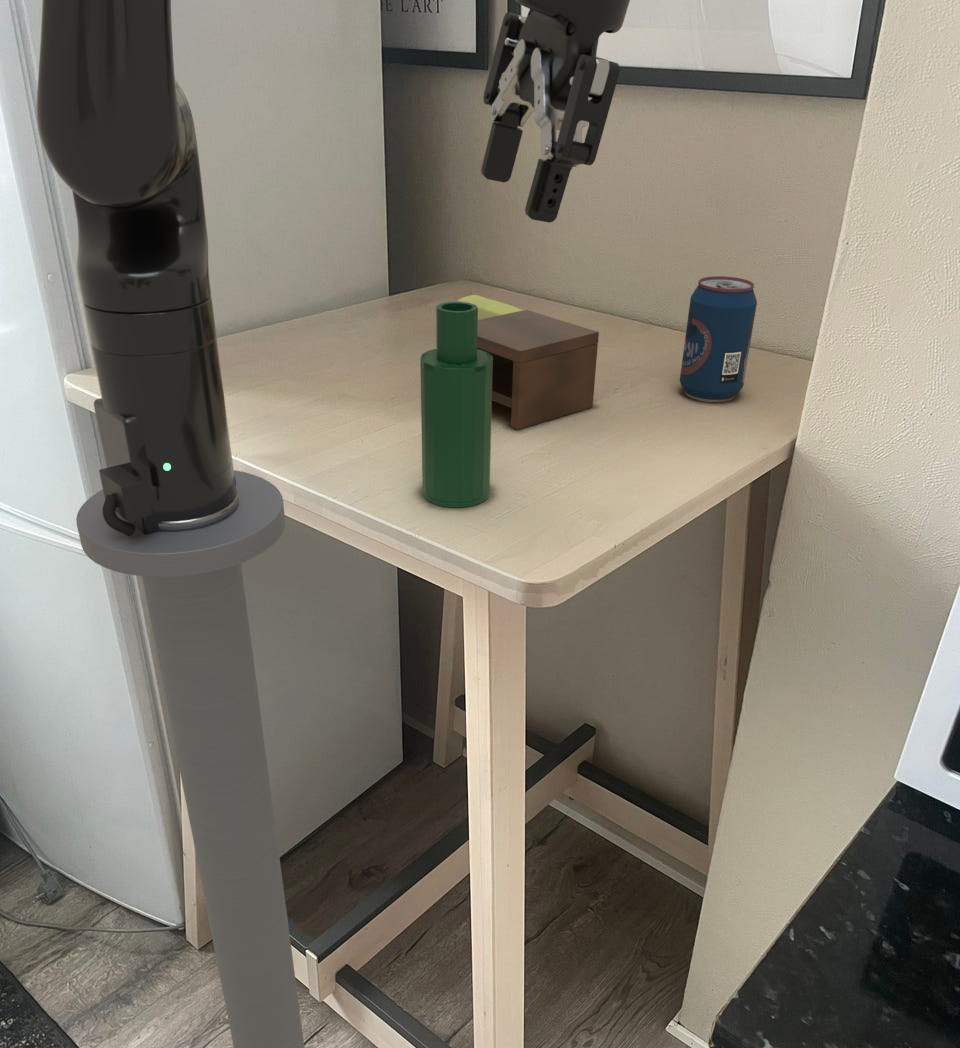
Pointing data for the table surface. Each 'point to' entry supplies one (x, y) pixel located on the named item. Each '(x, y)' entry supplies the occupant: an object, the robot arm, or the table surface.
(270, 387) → the table surface
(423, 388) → the bottle
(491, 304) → the yellow green block
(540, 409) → the shelf
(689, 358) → the soda can
